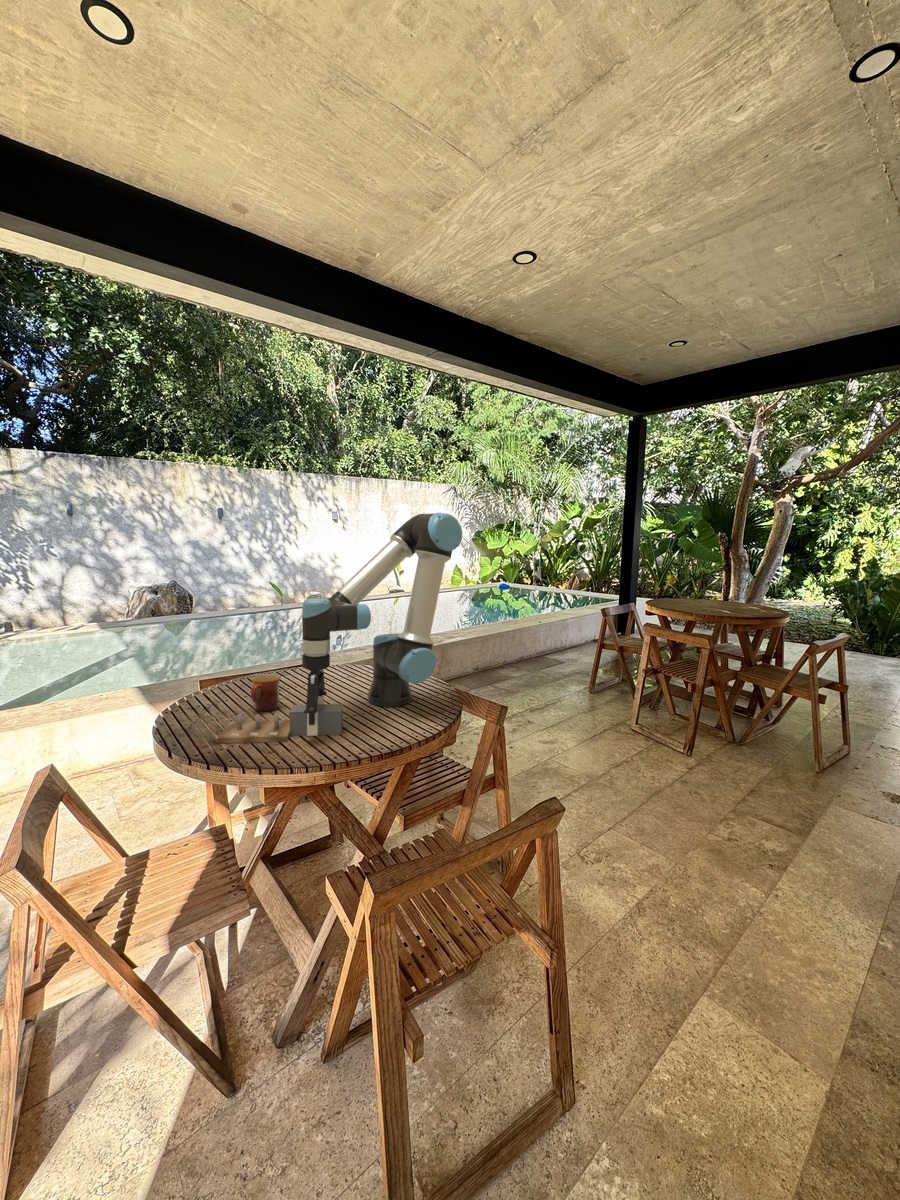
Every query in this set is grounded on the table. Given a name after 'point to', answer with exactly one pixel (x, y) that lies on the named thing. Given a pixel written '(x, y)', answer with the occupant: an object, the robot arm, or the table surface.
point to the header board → (256, 731)
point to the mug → (265, 692)
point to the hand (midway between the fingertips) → (316, 725)
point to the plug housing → (327, 719)
